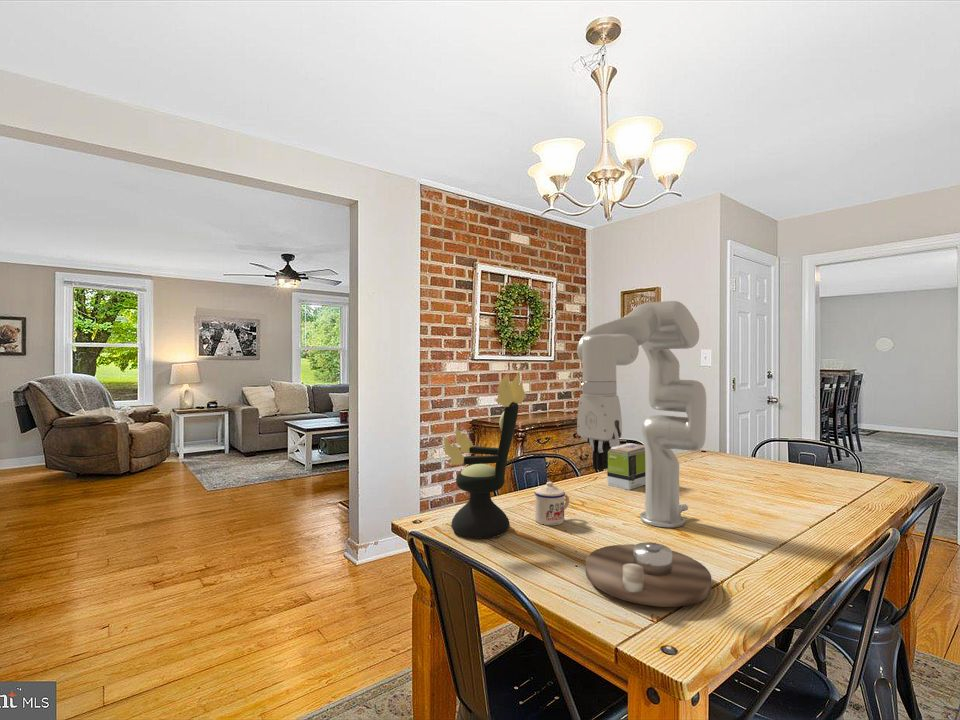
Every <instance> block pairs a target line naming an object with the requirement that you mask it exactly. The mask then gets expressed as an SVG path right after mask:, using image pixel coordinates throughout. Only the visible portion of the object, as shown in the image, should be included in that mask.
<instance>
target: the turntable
mask: <svg viewBox="0 0 960 720" xmlns="http://www.w3.org/2000/svg"><path fill="white" fill-rule="evenodd" d="M635 545H636V544H630V543H629V544H613V545H608V546H603V547H600V548H597V549H595V550H593V551H592V552H590V553H589V554H588V555H587V556H586V558H585V575H586V577H587V579H588V580H589V582H590V583H591V584H592V585H593V586H594V587H596V588H597V589H599V590H600V591H601V592H604V593H606V594H607V595H609V596H612V597H614V598H617V599H620V600H623V601H627V602H630V603H635V604H639V605H645V606H652V607H663V608H665V607H666V608H668V607H669V608H670V607H683V606H684V607H685V606H691V605H694V604H696V603H699V602H702V601H704V600H705V599H707V598H708V597H709V595H710V594H711V592H712V574H711V572H710V571H709V570H708V568H707V567H706V566H705V565H703V564H702V563H701V562H699V561H698V560H696V559H694V558H692V557H690V556H688V555H685V554H683V553H681V552H678V551H674V550H672V573H670V574H669V575H665V576H653V575H648V574H644V569H643V567H642V566H640V565H637V564H634V546H635Z"/></svg>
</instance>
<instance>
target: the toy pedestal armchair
mask: <svg viewBox="0 0 960 720" xmlns="http://www.w3.org/2000/svg"><path fill="white" fill-rule="evenodd" d="M496 390H497V393H498V397H497V398H494V401H495V402H496V403H497V404H499V405H501V406H503V407H505V408H504V411H502V413H501V415H500V417H499V420H498V421H499V422H498V423H499V428H500V431H501V433H500V439H499V445H498V447H491V446H490V447H489V446H488V447H487V446H478V445H477V446H476V445H475V446H474V444H473V442H472V441H471V439H470V438H469V436H468V435H466V433H464V432H462V431H460V429H458V428H457V427H455V442H454V441H452V443H451V442H450V440H449V438H447V437H445V436H444V437H443V441H444V454H445V455H447V456H448V457H450V462H449V464H448V465H449V466H453V465H454V466H456V465H463V464H464V465H468V466H466V467H464V468H463V470H461V472H459V473H458V474H457V476H456V478H455V483H456V486H457V487H458V489H460V490H461V491H464V492H467V493H469V495H470V496H469V499H468V501H467V503H465V504H463V506H462V507H461V508H460V509H459V510H458V511H457V512H456V513H455V514H454V515H453V518H452V519H451V523H450V526H451V529H452V530H453V531H454V533H456V534H458V535H459V536H462V537H464V538H471V539H491V538H496V537H499V536H502V535H504V534H505V533H506V532H508V530H509V529H510V519H509V517H508V515H507V514H506V512H504V511H503V510H502V509H501V507H499V506H498V505H497V504H496V503H495V502H493V500H492V497H491V493H494V492H497V491H499V490H500V489H502V488H503V486H504V485H505V481H506V480H505V476H506V469H507V463H508V458H509V455H510V454H509V453H510V449H511V445H512V440H513V436H514V432H515V430H516V429H515V428H516V424H517V420H518V415H519V414H518V413H519V405H521V404H522V403H523V402H524V400H525V398H526V397H527V394H526V392H525V390H524V385H523V381H521V382H520V374H519V373H518V372H517V374H516V375H515V376H514V378H513V380H512V382H510V377H509V375H508V374H507V375H503V377H502V380H501V381H500V383H499V384H498V386H497V388H496ZM455 443H456V444H455ZM457 445H458V446H457ZM459 446H460V449H459ZM462 453H463V454H462ZM464 454H476V455H469V456H466V455H465V456H464ZM489 464H495V466H492V465H489Z"/></svg>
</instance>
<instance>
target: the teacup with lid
mask: <svg viewBox="0 0 960 720" xmlns="http://www.w3.org/2000/svg"><path fill="white" fill-rule="evenodd" d="M534 494H535V499H534V502H535V505H534V507H535V511H534V512H535V518H534V519H535V521H536V523H538V524H540V525H543V524H544V526H559V525H561V524H563V523H564V522H565V511H566V510H567V508H568V507H569V504H570V496H569V495H568V494H566V493H565V491H564V489H563V488H560V487H558V486H556V485H554V483H553V481H547V482H546V484H544V485H543V486H541V487H537V488H536V489H535V490H534Z"/></svg>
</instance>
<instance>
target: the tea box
mask: <svg viewBox="0 0 960 720" xmlns="http://www.w3.org/2000/svg"><path fill="white" fill-rule="evenodd" d="M606 471H607V473H606V474H607V485H608V486H610V487H614V488H618V489H624V490H628V491H631V490H633V489H636V488H640V487H642V486H645V446H644V444H638V443H630V442H628V443H623V444H620V445H619V446H614V447H612V448H611V449H610V451H609V452H608V468H607V469H606Z"/></svg>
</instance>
